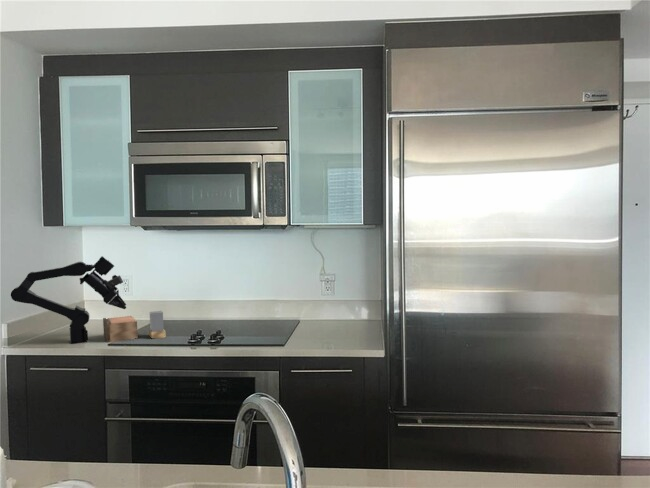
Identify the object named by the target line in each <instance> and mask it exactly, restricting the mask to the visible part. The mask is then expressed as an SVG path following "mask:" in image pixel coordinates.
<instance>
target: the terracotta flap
mask: <svg viewBox="0 0 650 488" xmlns="http://www.w3.org/2000/svg"><path fill="white" fill-rule="evenodd" d="M106 319H107V320H108V321H109V322H110V324H115V323H124V322H134V321H136V318H134V317H133V316H132V315H124V316H117V317H115V316H114V317H108V318H106Z"/></svg>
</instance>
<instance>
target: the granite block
mask: <svg viewBox="0 0 650 488" xmlns="http://www.w3.org/2000/svg"><path fill="white" fill-rule="evenodd" d="M164 328H165V327H164V313H163V311H162V310H157V311H156V310H155V311H154V310H153V311H149V330H151V331H152V332H155V331H164V330H165V329H164Z"/></svg>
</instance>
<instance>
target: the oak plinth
mask: <svg viewBox="0 0 650 488" xmlns="http://www.w3.org/2000/svg"><path fill="white" fill-rule="evenodd" d="M166 332H167V331H166V330H165V329H164V331H155V332H152V331H151V330H150V329H148V337H149V336H150V337H151V338H156V339H162V338H167V337H166V336H167V334H166ZM150 337H149V338H150ZM151 338H150V339H151Z"/></svg>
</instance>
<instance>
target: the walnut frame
mask: <svg viewBox="0 0 650 488" xmlns="http://www.w3.org/2000/svg"><path fill="white" fill-rule="evenodd" d="M107 319H108V318H107V317H103V318H102V321H103V322H102V325H103V337H104V339H105V340H106V342H107V343H114V342H122V340H123V341H128V340H127V339H131V338H139V336H138V335H139V334H138V321H137V320H135V321H133V322H124V323H115V324H110V322H109V321H108V320H107ZM131 340H132V339H131Z"/></svg>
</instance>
